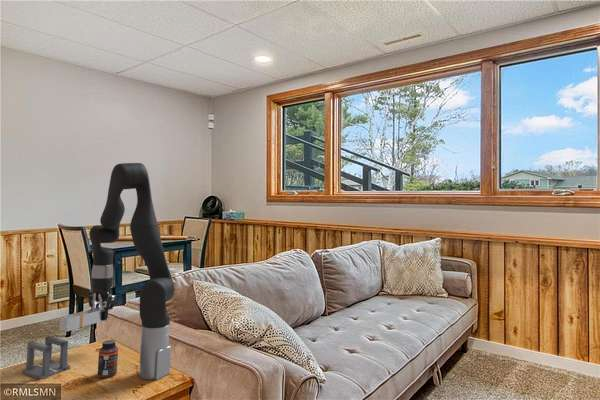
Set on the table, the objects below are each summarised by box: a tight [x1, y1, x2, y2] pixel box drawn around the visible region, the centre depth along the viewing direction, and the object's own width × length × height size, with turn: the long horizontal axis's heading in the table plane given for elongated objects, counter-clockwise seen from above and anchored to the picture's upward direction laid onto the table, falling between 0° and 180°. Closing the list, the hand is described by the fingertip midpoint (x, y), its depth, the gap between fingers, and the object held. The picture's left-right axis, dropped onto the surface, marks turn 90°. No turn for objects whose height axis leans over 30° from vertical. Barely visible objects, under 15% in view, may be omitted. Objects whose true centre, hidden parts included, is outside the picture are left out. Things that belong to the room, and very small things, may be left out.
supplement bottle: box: [97, 339, 119, 379], centre depth 130 cm, size 6×6×11 cm
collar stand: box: [21, 335, 71, 381], centre depth 131 cm, size 10×10×10 cm
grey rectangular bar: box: [58, 306, 109, 332], centre depth 144 cm, size 4×17×5 cm, turn 156°
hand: (100, 319), depth 150 cm, fingers closed on grey rectangular bar, 4 cm apart
